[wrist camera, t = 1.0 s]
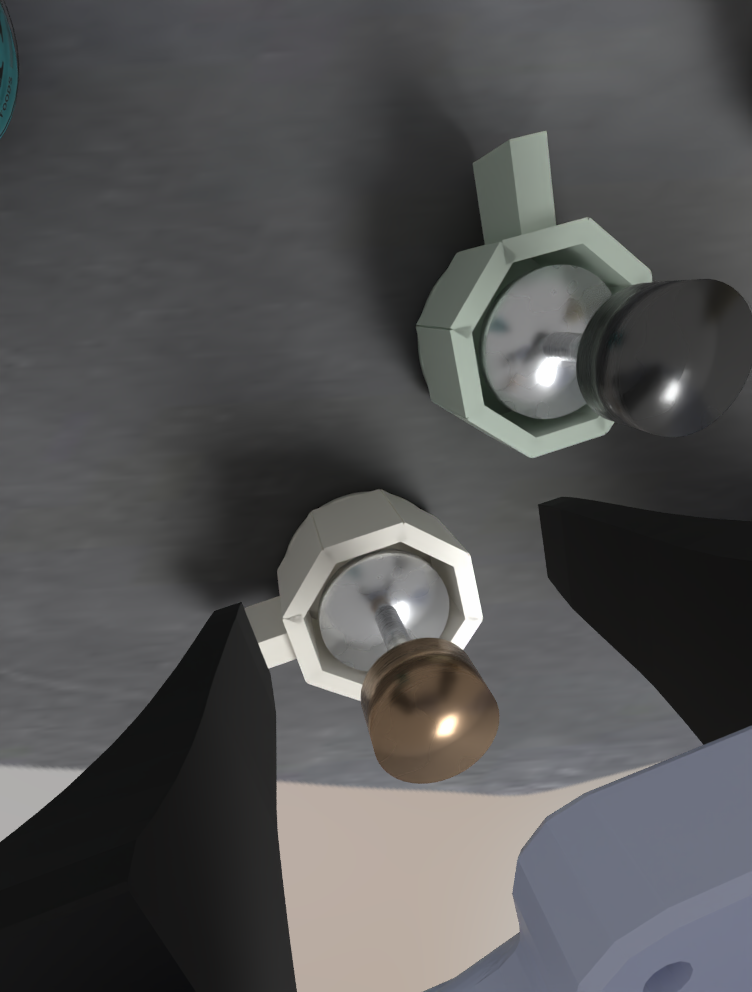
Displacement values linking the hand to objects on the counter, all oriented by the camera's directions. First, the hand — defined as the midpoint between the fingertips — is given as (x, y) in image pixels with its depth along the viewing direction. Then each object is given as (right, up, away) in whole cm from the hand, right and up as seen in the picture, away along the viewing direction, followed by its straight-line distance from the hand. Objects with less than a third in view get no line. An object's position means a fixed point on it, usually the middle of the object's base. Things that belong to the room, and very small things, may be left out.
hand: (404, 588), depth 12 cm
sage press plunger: (+5, +7, +6) cm, 11 cm away
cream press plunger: (0, -2, +8) cm, 9 cm away
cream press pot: (-2, -2, +11) cm, 12 cm away
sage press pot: (+4, +10, +9) cm, 14 cm away
